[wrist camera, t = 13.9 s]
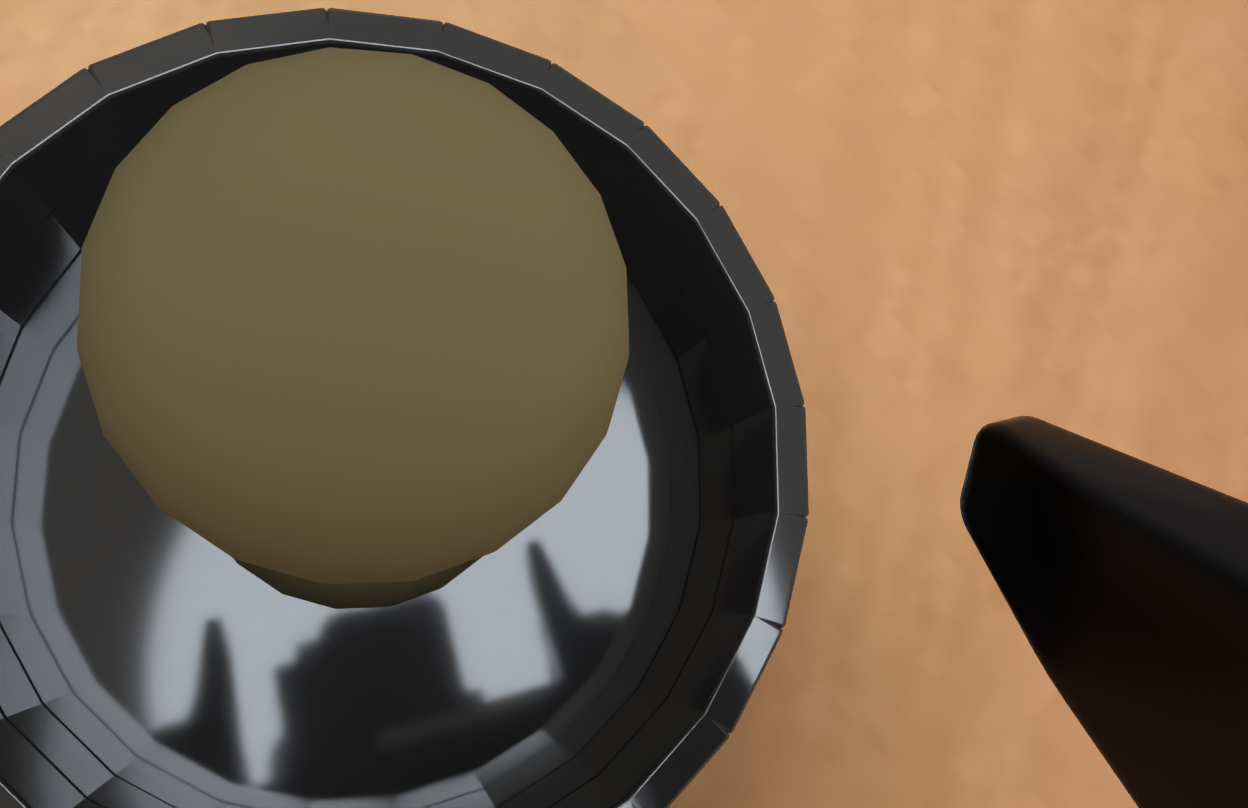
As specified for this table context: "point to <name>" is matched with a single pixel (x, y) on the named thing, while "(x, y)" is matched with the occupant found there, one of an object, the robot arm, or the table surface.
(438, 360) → the olive chess pawn
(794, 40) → the table surface
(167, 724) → the pan
